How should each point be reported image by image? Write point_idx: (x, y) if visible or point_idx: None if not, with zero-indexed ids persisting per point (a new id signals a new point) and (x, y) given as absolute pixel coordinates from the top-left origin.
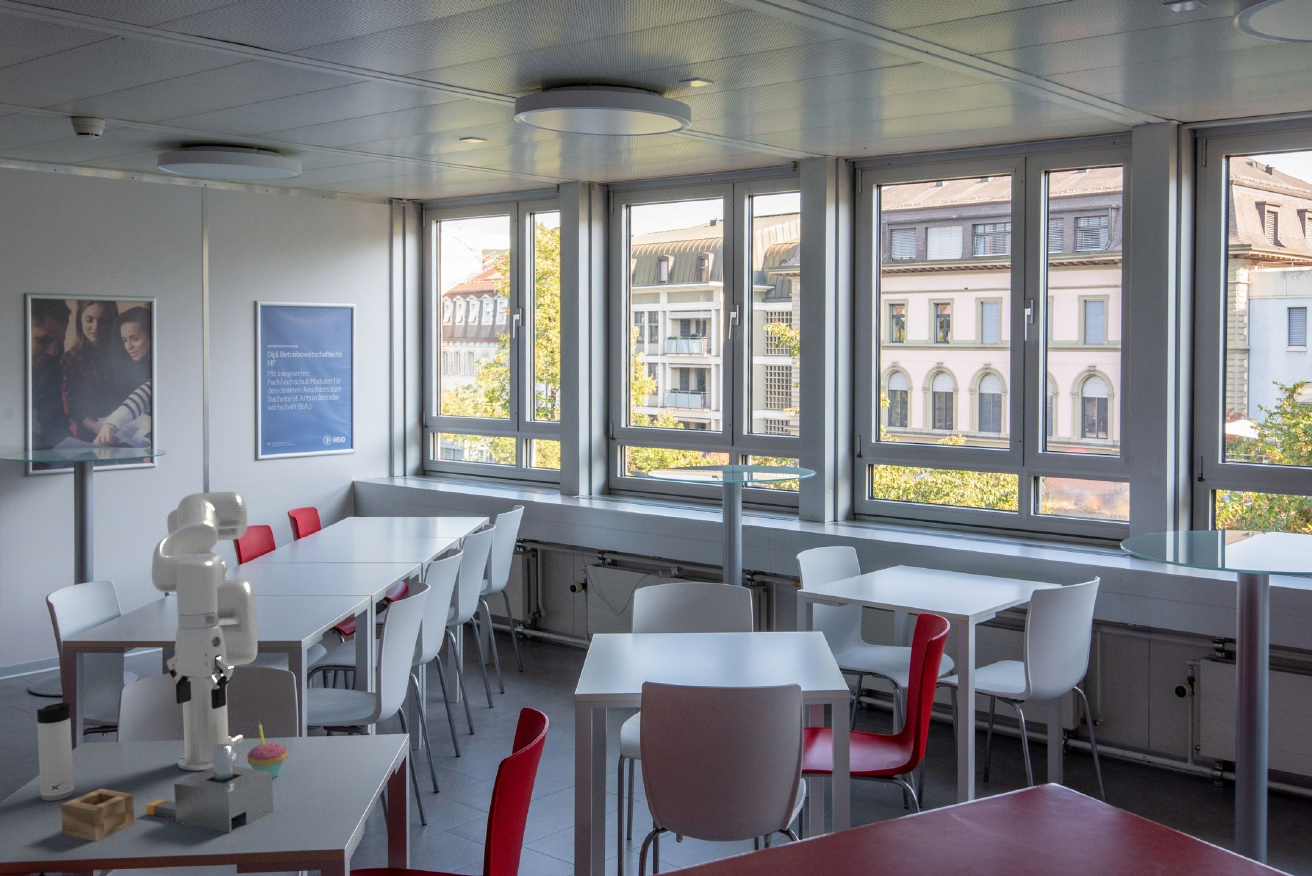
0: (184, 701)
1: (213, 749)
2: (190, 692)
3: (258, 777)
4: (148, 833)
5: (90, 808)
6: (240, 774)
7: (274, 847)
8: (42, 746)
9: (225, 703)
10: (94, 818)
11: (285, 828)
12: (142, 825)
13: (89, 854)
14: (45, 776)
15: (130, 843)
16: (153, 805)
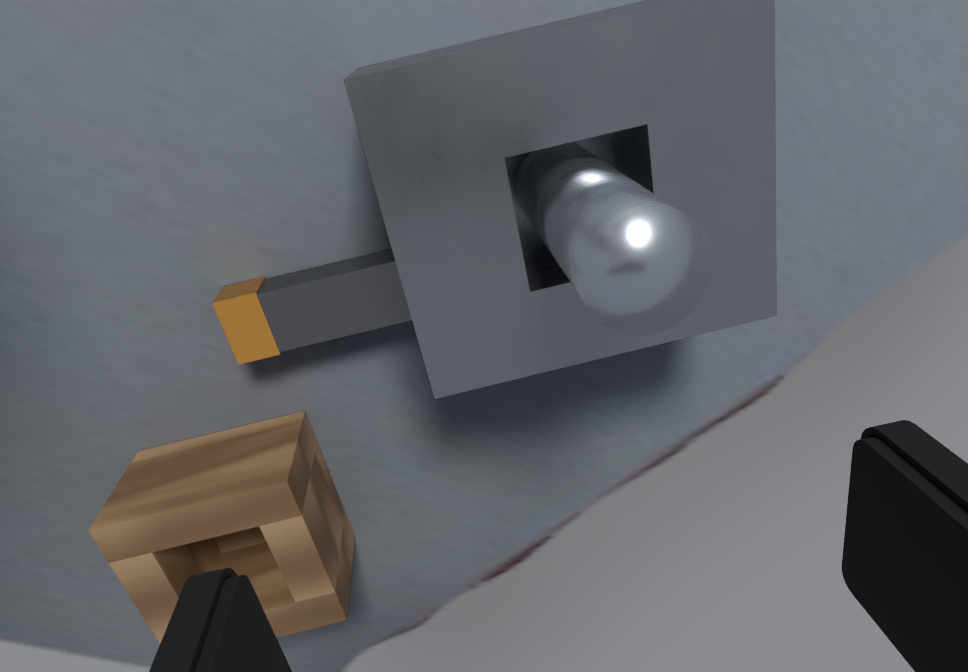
0: (279, 654)
1: (628, 332)
2: (214, 668)
3: (763, 92)
4: (437, 419)
5: (313, 621)
6: (628, 124)
7: (938, 236)
8: None
9: (912, 434)
10: (348, 595)
11: (866, 100)
12: (345, 399)
13: (442, 577)
14: None
15: (468, 484)
16: (274, 352)
